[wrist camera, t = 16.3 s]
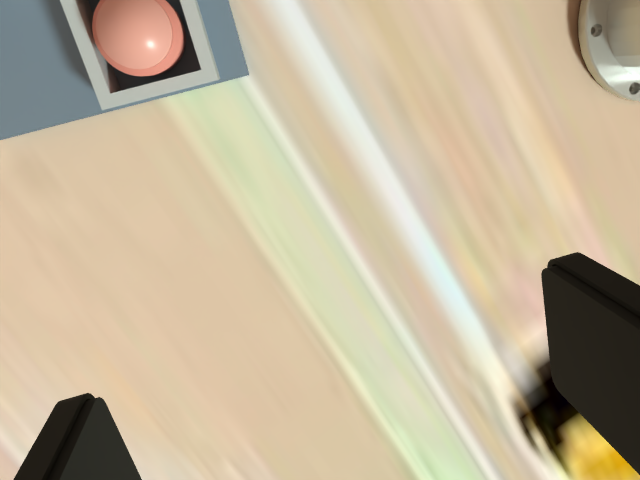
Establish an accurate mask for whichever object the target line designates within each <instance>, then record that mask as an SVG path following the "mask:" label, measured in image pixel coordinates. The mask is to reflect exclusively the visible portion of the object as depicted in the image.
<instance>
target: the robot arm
mask: <svg viewBox="0 0 640 480" xmlns="http://www.w3.org/2000/svg"><path fill="white" fill-rule="evenodd" d="M578 34H579V43H580V48H581V53H582V56H583V59H584V61H585V64H586V66H587V68H588V70H589V72H590V73H591V75H592V76H593V77H594V79H595V80H596V82H597V83H599V84H600V85H601V86H602V87H603V88H604V89H605V90H606V91H608V92H610V93H611V94H613V95H615V96H617V97H619V98H623V99H626V100H630V101H638V102H640V0H581V5H580V12H579V19H578ZM542 286H543V296H544V306H545V316H546V326H547V336H548V346H549V356H550V365H551V375H552V379H553V382H554V384H555V386H556V388H557V389H558V391H559V392H560V393H561V394H562V395H563V396H564V397H565V398H566V399H567V400H568V402H569V403H570V404H571V405H572V406H573V407H574V408H575V409H576V410H577V411H578V412H579V413H580V414H581V415H582V416H583V417H584V418H585V419H586V420H587V421H588V422H589V423H590V424H591V425H592V426H593V427H594V428H595V429H596V430H597V431H598V432H599V433H600V435H601V436H602V437H603V438H604V439H605V440H606V441H607V442H608V443H609V444H610V445H611V446H612V447H613V448H614V449H615V450H616V451H617V452H618V453H619V454H620V455H621V456H622V457H623V458H624V459H625V460H626V461H627V462H628V463H629V464H630V465H631V466H632V468H633V469H634V470H635V471H636V472H637V473H638V474H639V475H640V286H639V285H638V284H636V283H634V282H632V281H630V280H629V279H627V278H625V277H623V276H621V275H619V274H618V273H616V272H614V271H612V270H610V269H609V268H607V267H605V266H603V265H601V264H599V263H598V262H596V261H594V260H592V259H590V258H589V257H587V256H585V255H583V254H581V253H578V252H577V253H573V254H569V255H566V256H562V257H559V258H555V259H552V260H550V261H549V262H548V266H547V268H545V269H543V270H542ZM14 480H142V479H141V477H140V475H139V473H138V471H137V469H136V466H135V464H134V462H133V460H132V458H131V456H130V454H129V452H128V449H127V447H126V445H125V443H124V441H123V439H122V437H121V435H120V432H119V430H118V428H117V426H116V424H115V422H114V420H113V418H112V416H111V413H110V411H109V409H108V407H107V405H106V403H105V401H104V400H103V399H102V398H100V397H98V398H94V396H93V395H92V394H90V393H86V394H83V395H79V396H76V397H72V398H69V399H65V400H62V401H59V402H58V403H57V404H56V405H55V407H54V409H53V411H52V412H51V414H50V416H49V418H48V419H47V421H46V423H45V425H44V427H43V428H42V430H41V432H40V434H39V435H38V437H37V439H36V441H35V442H34V444H33V446H32V448H31V450H30V451H29V453H28V455H27V457H26V458H25V460H24V462H23V464H22V465H21V467H20V469H19V471H18V473H17V474H16V476H15V478H14Z"/></svg>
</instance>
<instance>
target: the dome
mask: <svg viewBox="0 0 640 480" xmlns="http://www.w3.org/2000/svg"><path fill="white" fill-rule="evenodd" d="M92 31H93V37H94V40H95V43H96V45H97V48H98V49H99V51H100V53H101V54H102V56H103V57H104V58H105V59H106V60H107V61H108V62H109V63H110V64H111V65H112V66H113V67H115V68H116V69H118V70H119V71H122V72H124V73H126V74H129V75H134V76H154V75H160V74H163V73H165V72H167V71H169V70H170V69H172V68H173V67H174V66H175V65H176V64H177V63H178V62H179V61H180V59H181V57H182V55H183V53H184V49H185V45H186V33H185V28H184V24H183V22H182V20H181V18H180V16H179V14H178V13H177V11H176V10H175V9H174V8H173V7H172V6H171V5H170V4H169V3H168V2H167V1H166V0H100V1H99V3H98V5H97V7H96V9H95V11H94V15H93V21H92Z"/></svg>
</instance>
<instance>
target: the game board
mask: <svg viewBox="0 0 640 480" xmlns="http://www.w3.org/2000/svg"><path fill="white" fill-rule="evenodd" d="M99 1H100V0H0V140H2V139H6V138H10V137H14V136H18V135H22V134H25V133H29V132H33V131H37V130H41V129H44V128H48V127H52V126H56V125H60V124H64V123H67V122H71V121H75V120H79V119H83V118H86V117H90V116H94V115H98V114H102V113H106V112H109V111H113V110H117V109H121V108H125V107H128V106H132V105H136V104H140V103H144V102H148V101H151V100H155V99H159V98H163V97H167V96H170V95H174V94H178V93H182V92H186V91H190V90H193V89H197V88H201V87H205V86H209V85H212V84H216V83H220V82H224V81H228V80H232V79H235V78H239V77H243V76H247V75H249V73H248V69H247V65H246V62H245V58H244V55H243V51H242V48H241V44H240V40H239V37H238V33H237V30H236V26H235V23H234V19H233V15H232V12H231V8H230V5H229V1H228V0H166V1H167V2H168V3H169V4H170V5H171V6H172V7H173V8H174V9H175V10H176V11H177V13H178V14H179V16H180V18H181V20H182V22H183V24H184V28H185V33H186V45H185V49H184V53H183V55H182V57H181V59H180V61H179V62H178V63H177V64H176V65H175V66H174V67H173V68H172V69H170V70H169V71H167V72H165V73H163V74H160V75H154V76H134V75H129V74H126V73H124V72H122V71H119V70H118V69H116V68H115V67H113V66H112V65H111V64H110V63H109V62H108V61H107V60H106V59H105V58H104V57H103V56H102V54H101V53H100V51H99V49H98V48H97V45H96V43H95V40H94V37H93V31H92V21H93V15H94V11H95V9H96V7H97V5H98V3H99Z"/></svg>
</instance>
